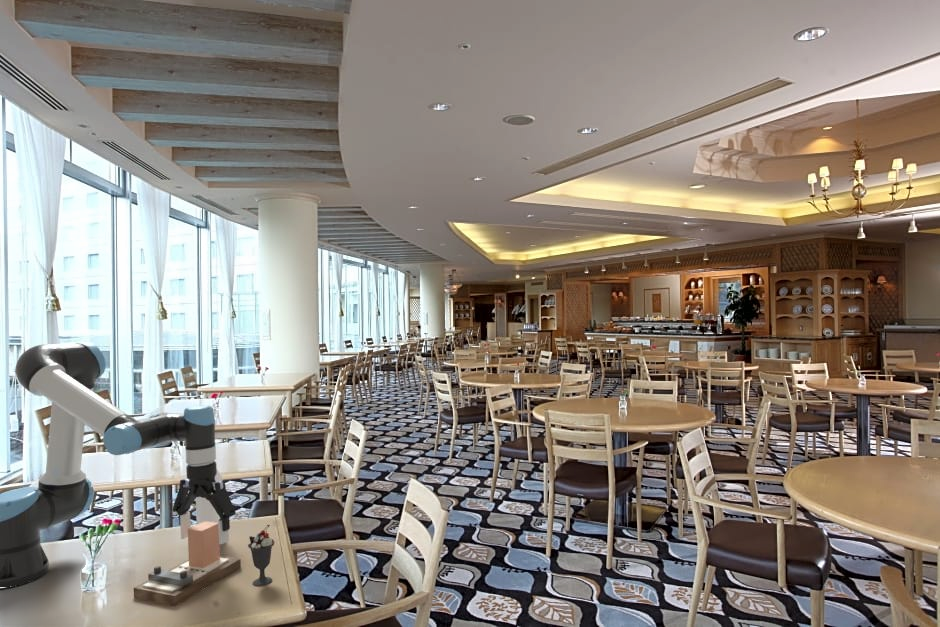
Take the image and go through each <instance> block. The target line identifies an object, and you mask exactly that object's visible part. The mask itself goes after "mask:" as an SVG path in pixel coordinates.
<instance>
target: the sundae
mask: <svg viewBox="0 0 940 627" xmlns="http://www.w3.org/2000/svg"><path fill="white" fill-rule="evenodd" d="M270 526H271V525H270V524H267V525H266V527H265V528H264V529H263V530H260V532H259V533H257V534H256V535H255V536H249V537H248V539H249V542H250V543H248V545H247V548H248V549H250V552H251V558H252V563H253V566H254V567H255V568H256V569H258V570H259V577H258V578H256V579H254V580H253V581H252V585H253V586H254V587H264V586H267V585H269V584H271V583H272V582H273V578H272V577H269V576H266V573H265V570H266V568H267V567H268V566H269V565H270V563H271V557H272V548H273V546H275V539H272V538H271V536H270V534H269V533H268V532H267V530H268V528H269V527H270Z"/></svg>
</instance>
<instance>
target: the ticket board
mask: <svg viewBox="0 0 940 627" xmlns="http://www.w3.org/2000/svg"><path fill="white" fill-rule="evenodd" d="M220 557H221V558H227V559H229V561H228V562H226V563H224V564H222V565H221V566H219V567H217V568H215V569H213V570H212V571H210V572H208V573H207V572H206V571H201V570H195V569H189V568H184V567H180V565H182V564H184V563H186V562H188V561H189V559H187V560H186V561H185V560H184V561H183V562H182V563H180V564H178V565H175V566H174V567H171V568H170V569H168V570H166V569H162V566H161V565H159V566H155V567H154V568H153V571H151V572H149V573H148V574H147V576H148V580H146V581H143V582H142V583H140V584H138V585H136V586H134V587H133V598H134V599H138V600H139V599H140V600H144V601H149V602H154V603H159V604H163V605H167V606H168V605H169V606H173V607H176V606H177V605H180V604H181V603H183V602H185V601H187V600H188V599H190V598H191V596H192V597H193V596H195V595H197V594H199V593H200V592H202V591H204V590H205V589H207V588H209V587H211V586H212V585H213V583H214V584H215V582H216V583H217V582H218V581H221V580H222V579H225V577H227V576H229V575H231V574H232V573H235V572H236V571H238V570H240V569H241V568H242V567H241V566H242V565H241V564H242V562H241V558H237V557H232V556H226V555H220ZM220 579H221V580H220ZM208 586H209V587H208ZM206 587H207V588H206ZM204 588H205V589H204ZM203 589H204V590H203ZM201 590H202V591H201ZM198 592H199V593H198ZM196 593H197V594H196ZM194 594H195V595H194ZM189 597H190V598H189ZM186 599H187V600H186ZM184 600H185V601H184ZM179 603H180V604H179Z"/></svg>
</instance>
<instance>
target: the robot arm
mask: <svg viewBox="0 0 940 627" xmlns="http://www.w3.org/2000/svg"><path fill="white" fill-rule="evenodd" d="M106 363H107V362H106V358H105V355H104V353H103V352H102V350H100V348H99V347H98V346H97V345H96V344H94V343H91V342H87V341H86V342H85V341H84V342H83V341H82V342H81V341H73V342H72V341H71V342H62V343H50V344H46V343H45V344H38V345H35V346H33V347H30V348H28V349H27V350H25V351H24V352H23V353H22V354H21V355H20V356H19V358H18V359H17V361H16V363H15V376H16V378H17V380H18V382H19V383H20V384H21V385H22V387H23V388H24V389H26V390H27V391H28V392H30V393H31V394H32V395H34V396H37V397H45V398H46V399H47V400H49V401H51V409H50V420H49V421H50V422H49V431H48V432H49V434H48V442H47V443H48V444H47V454H46V467H45V472H44V473H43V474H42V475H41V476H40V477H39V478H38V485H37V487H36V486H22V487H18V488H16V489H10V490H7V491H4V492H2V493H0V587H10V586H15V585H19V586H21V585H20V584H22V585H24V584H23V583H25V584H28V583H30V582H29V581H31V582H33V581H35V579H36V580H37V578H38V579H40V578H41V576H42V577H43V576H45V575H46V574H47V573H48V572H49V570H50V561H49V559H48V556H47V554H46V551H45V550H44V548H43V546H42V544H41V531H42V530H45V529H48V528H50V527H53V526H57V525H59V524H62V523H64V522H68V521H71V520H75V518H77V517H79V516H81V515H83V514H84V513H86V511H88V510H89V509H90V507H91V506H92V503H93V501H94V498H95V497H94V495H95V491H94V487H93V486H92V485H93V484H92V481H90V479H88V478H87V474H86V473H85V472H83V471H82V457H83V447H84V438H85V437H84V436H85V427H86V426H87V427H89V428H90V429H91V430H93V431H94V432H95V433H97V434H98V435H100V436H101V437H103V439H102V442H103V446H104V447H105V448H106V451H107V452H108V453H109V454H110V455H112V456H122V455H129V454H131V453H132V454H133V453H134V452H137V451H141V450H145V449H148V448H150V447H155V446H158V445H162V444H165V443H168V442H184V445H185V447H184V448H185V464H186V465H187V466H186V471H185V472H186V478H183V479H180V480H179V489H178V491H177V495H176V497H175V500H174V502H173V506H172V512H173V513H175V512H176V513H177V515H178V524H179V526H180V540H184V539H188V529H189V528H191V527H192V524H191V512H189V511H190V508H191V506H192V505H193V504H194V502H195V501H196V497H202V498H206V500H209V501H210V503H211V505H212V506H213V508H214V509H215V511H216V512H217V514H218V515H219V517H220V519H219V520H218V530H219V544H220V545H223V544H225V543H227V542H228V541H230V537H229V530H230V528H231V526H230V521H231V520H230V518H231V517H234V516H235V515H236V510H235V508H234V506H233V503H232V501H231V498H230V495H229V494H228V491H227V489H226V481H225V480H223V479H222V481H220V482H216V481H215V475H216V474H217V470H218V469H217V468H218V467H217V462H216V459H217V453H216V449H217V448H216V436H215V435H216V433H215V432H216V419H215V412H214V407H212V406H211V405H206V404H203V405H193V406H188V407H185V408H184V410H183V413H173V412H172V413H169V412H161V413H154V414H151V416H149V417H148V418H144V419H138V420H136V419H135V418H134V417H132V416H130V415H129V414H127V413H126V412H125V411H122V410H121V409H120V408H118V407H116V406H115V405H114V404H112V403H111V402H110V401H108V400H106V399H105V398H103V397H102V396H101V395H99V394H97V393H96V392H95V391H92V390H94V389H95V381H96V380H98V379H99V378H101V377H102V375H104V373H105V371H106V368H107V367H106ZM214 460H215V461H214ZM212 493H213V494H212ZM223 513H224V514H223ZM39 577H40V578H39ZM32 580H33V581H32ZM27 582H28V583H27ZM15 587H16V586H15Z"/></svg>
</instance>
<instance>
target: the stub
mask: <svg viewBox="0 0 940 627" xmlns="http://www.w3.org/2000/svg"><path fill="white" fill-rule="evenodd" d="M220 545H221V544H219V530H218V523H214V522H207V521H205V522H202V523H200V524H198V525H197V524H196V525H194V526H191V528H189V529H188V537H187V546H188V548H187V549H188V551H187V552H188V560H189V561H188V562H186V563H184V564H182V565H180V567H184V568H189V569H195V570H201V571H206V572H207V573H208V572H210V571H212V570H213V569H215V568H217V567H219V566H221V565H222V564H224V563H226V562H228V561H229V559H227V558H221V557H220V556H221V546H220Z"/></svg>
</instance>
